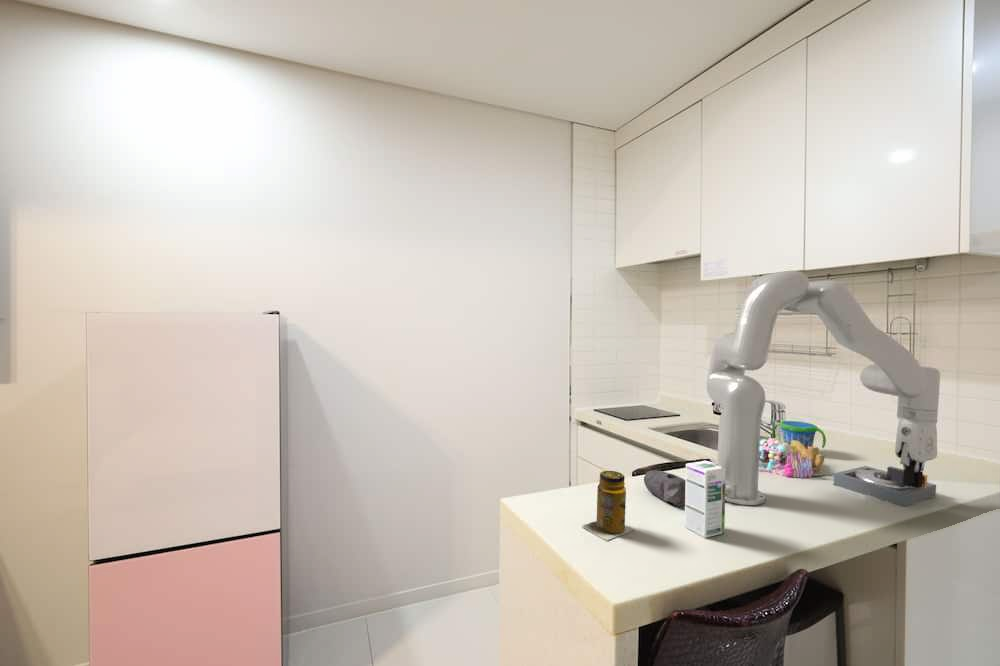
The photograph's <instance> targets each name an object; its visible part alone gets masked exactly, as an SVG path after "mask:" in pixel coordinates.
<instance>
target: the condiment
mask: <svg viewBox="0 0 1000 666" xmlns="http://www.w3.org/2000/svg"><path fill="white" fill-rule="evenodd" d="M598 481H599V483H598V484H597V495H596V496H597V497H596V498H597V499H596V520H595V521H591V522H589V523H586V524H583V525H581V527H582V528H584V529H586V530H587V531H588V532H590V533H592V534H593V535H595V536H597V537H599V538H601V539H602V540H605V541H607V542H608V541H609V540H613V539H614V538H617V537H619V536H623V535H625V534H628V533H630V532H633V530H634V529H632V528H630V527H628V526H626V509H627V508H626V504H627V503H626V500H627V498H626V497H627V490H626V489H627V488H626V486H625V484H626V483H625V475H624V474H623V473H622V472H618V471H615V470H604V471H601V472H600V473H599V480H598Z"/></svg>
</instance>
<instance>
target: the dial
mask: <svg viewBox="0 0 1000 666" xmlns="http://www.w3.org/2000/svg"><path fill="white" fill-rule="evenodd" d="M903 477H904V469H903V468H898V467H894V466H887V470H886V472H882V471H875V470H858V471H856V473H855V478H857V479H861V480H864V481H868V482H871V483H874V484H878V485H881V486H885V487H888V488H892V489H895V490H898V491H903V490H906V489H910V488H913V487H912V486H909V485H905V484H904V483H903ZM927 482H928V474H924V473H923V478H922V487H921V488H926V487H927Z"/></svg>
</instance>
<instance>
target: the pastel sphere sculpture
mask: <svg viewBox="0 0 1000 666" xmlns="http://www.w3.org/2000/svg"><path fill="white" fill-rule="evenodd" d="M790 447H791V448H792V449H791V448H790ZM819 450H820V448H819V447H817V446H814V445H813V446H812V447H809V446H808V449H806V447H805V446H804V445H803V444H801V443H800V442H799V441H796V440H792V441H791V444H790V446H789V444H787V443H784V441H782V440H780V439H778V438H776V437H775V439H774V438H772V437H770V438H768V439H766V438H764V439H760V451H759V473H760V472H762V473H771V474H774V475H778V476H781V477H786V478H792V477H793V478H794V479H795V478H798V479H799V478H800V479H802V478H804V479H806V478H807V477H808V478H811V477H818V476H822V475H823V474H824V472H823V471H821V470H820V469H821V468H822V466H823V464H824V463H825V455H824V454H818V452H819Z"/></svg>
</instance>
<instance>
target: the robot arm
mask: <svg viewBox="0 0 1000 666" xmlns="http://www.w3.org/2000/svg"><path fill="white" fill-rule="evenodd" d="M782 311H788V312H793V313H800V314H816V315H817V316H818V317H819V319H820V321H822V323H823V324H824V325H825V327H826V328H827V330H828V331H829V332H830V334H831V335H832V337H833V338H834V339H835V342H837V344H840V346H843V347H845V348H846V349H848V350H850V351H852V352H855V353H856V354H859V355H860V356H863V357H864V358H866V359H868V360H870V361H871V362H872V363H871V364H869V365H867V366H865V367H864V368H863V369H862V370H861V372H860V374H859V379H860V382H861V383H862V385H863V387H865V388H867V389H868V390H870V391H873V392H875V393H878V394H879V393H880V394H885V395H890V396H895V397H897V411H896V418H897V419H898V424H897V430H896V431H897V432H896V437H895V439H896V440H895V455H896V457H897V458H899V459H900V461H899V463H900V465H902V467H903V468H902V469H904V477H903V483H904V484H905V485H909V486H912V487H916V488H919V487H922V478H923V474H924V469H925V463H926V462H928V461H933V460H935V459H936V458H937V455H938V430H937V424H938V418H939V417H938V415H939V414H938V413H939V403H940V402H939V400H940V386H941V385H940V384H941V372H940V370H939V369H937V368H935V367H932V366H921V365H920V363H919V362H918V361H917V359H916V358H915V357H914V355H913V354H912V353H911V352H910V350H909V349H907V348H906V347H905V346H904V345H903V344H901V343H900V342H898V341H897V340H896V339H894V338H893V337H891V336H890V335H889V334H887V333H885V332H884V331H883V330H882V329H880V328H878V327H877V326H876V325H875V324H874V323H873V322H872V321H871V319H870V318H869V317H868V315H867V313H866V312H865V311H864V309H863V308H862V306H861V305H860V304H859V302H858V301H857V300H856V298H855V297H854V296H853V294H852V292H851V291H850V290H849V289H848V287H847V286H846V285H845V284H844V283H842V282H841V281H837V280H834V279H833V280H832V279H831V280H830V279H829V280H818V281H809V278H808V277H807V275H805V274H804V273H803V272H802V271H798V270H783V271H778V272H773V273H768V274H764V275H761V276H758V277H757V278H755V279H754V280H753V282H752V283H751V284H750V288H749V294H748V295H747V296H746V298H745V299H744V301H743V302H742V304H741V306H740V309H739V311H738V314H737V315H738V316H737V318H736V322H735V326H734V330H733V332H728V333H725V334H723V335H722V336H720V338H718V340H717V341H716V343H715V345H714V346H713V349H712V353H711V357H710V361H709V362H710V363H709V367H708V368H709V369H708V373H707V374H708V375H707V379H706V391H707V395H708V397H709V398H710V399H711V400H712V401H713V402H714V403H716V404H719V405H721V406H722V410H721V414H720V416H719V421H718V433H717V434H718V436H717V437H718V440H717V463H716V464H718V465H720V466H722V467H724V468H725V469H726V476H725V502H727V503H732V504H736V505H743V506H757V505H762V504H763V503H765V501H766V500H765V499H766V497H765V495H764V494H765V493H763V492H762V491H761V490H759V473H760V471H759V451H760V441H761V424H762V418H763V417H762V416H763V413H764V408H765V406H766V405H765V404H766V393H765V389H764V387H763V386H762V384H761V383H760V382H759V381H758V380H756V379H755V378H753V377H751V376H749V375H745V372H746V371H758V370H759V369H761V368H763V367H764V366H765V364H766V362H767V361H768V356H769V353H770V347H771V342H772V337H773V333H774V328H775V325H776V320H777V319H778V316H779V315H780V314H781V312H782Z"/></svg>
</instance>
